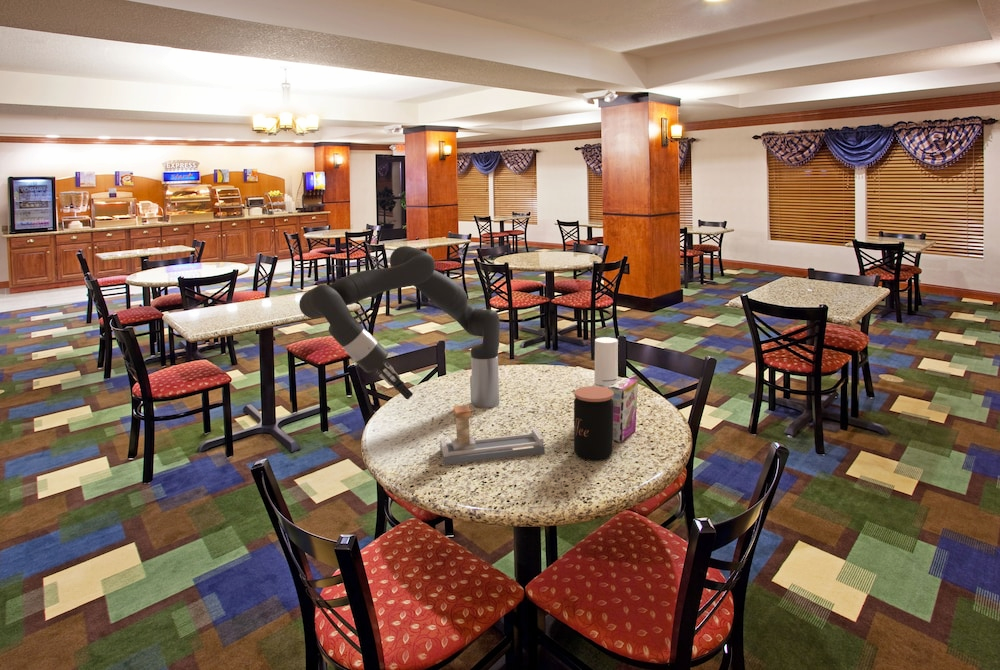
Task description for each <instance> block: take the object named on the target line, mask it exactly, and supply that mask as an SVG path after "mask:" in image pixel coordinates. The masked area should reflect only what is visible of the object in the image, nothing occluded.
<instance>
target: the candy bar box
mask: <svg viewBox="0 0 1000 670" xmlns="http://www.w3.org/2000/svg"><path fill="white" fill-rule="evenodd" d="M638 381H639V380H638V379H635V378H629V377H622V378H620V379H619V380H617V382H616V383H614V384H612V385H611V386H609V387H608V389H610V390H612V391H613V393H614V396H613V398H612V399H613V402H614V410H613V442H616V443H623V442H624V441H625V440H626V439H627V438H628V437H630V436H631V435H632V434H633V433H635V431H636V428H637V427H636V425H637V408H638V406H637V405H638V385H639V384H638V383H639V382H638Z"/></svg>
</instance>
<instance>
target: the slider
mask: <svg viewBox="0 0 1000 670" xmlns="http://www.w3.org/2000/svg"><path fill="white" fill-rule="evenodd" d="M452 409H453V413H454V416H455V423H456V425H455V426H456V438H451V441H450V442H452V448H453V450H454V451H461V450H469V449H476V443H475V441H474V437H473V435H472V436H470V421H469V420H470V417H472V410H471V409H470V407H469V405H468V404H465V405H463V404H462V405H454V406H453V408H452Z"/></svg>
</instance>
